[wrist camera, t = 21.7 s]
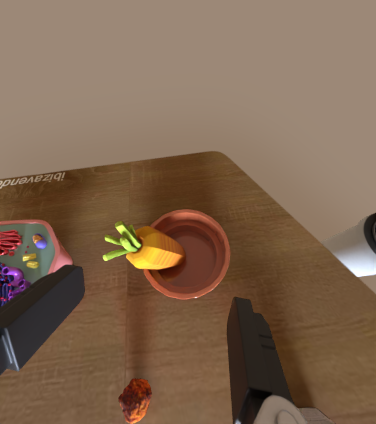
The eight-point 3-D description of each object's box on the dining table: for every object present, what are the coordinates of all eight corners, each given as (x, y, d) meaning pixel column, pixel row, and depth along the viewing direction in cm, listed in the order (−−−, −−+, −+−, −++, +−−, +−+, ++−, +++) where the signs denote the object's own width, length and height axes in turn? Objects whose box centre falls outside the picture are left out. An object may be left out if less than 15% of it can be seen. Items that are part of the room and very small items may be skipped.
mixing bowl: (215, 221, 34) (220, 204, 28) (229, 293, 28) (239, 291, 22) (149, 229, 33) (139, 214, 27) (151, 304, 28) (140, 305, 22)
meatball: (157, 378, 24) (151, 392, 20) (147, 415, 22) (138, 438, 19) (132, 369, 24) (121, 381, 21) (120, 404, 23) (107, 424, 19)
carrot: (179, 279, 29) (98, 275, 16) (166, 254, 31) (88, 234, 19) (203, 260, 28) (137, 241, 16) (188, 236, 31) (120, 203, 18)
